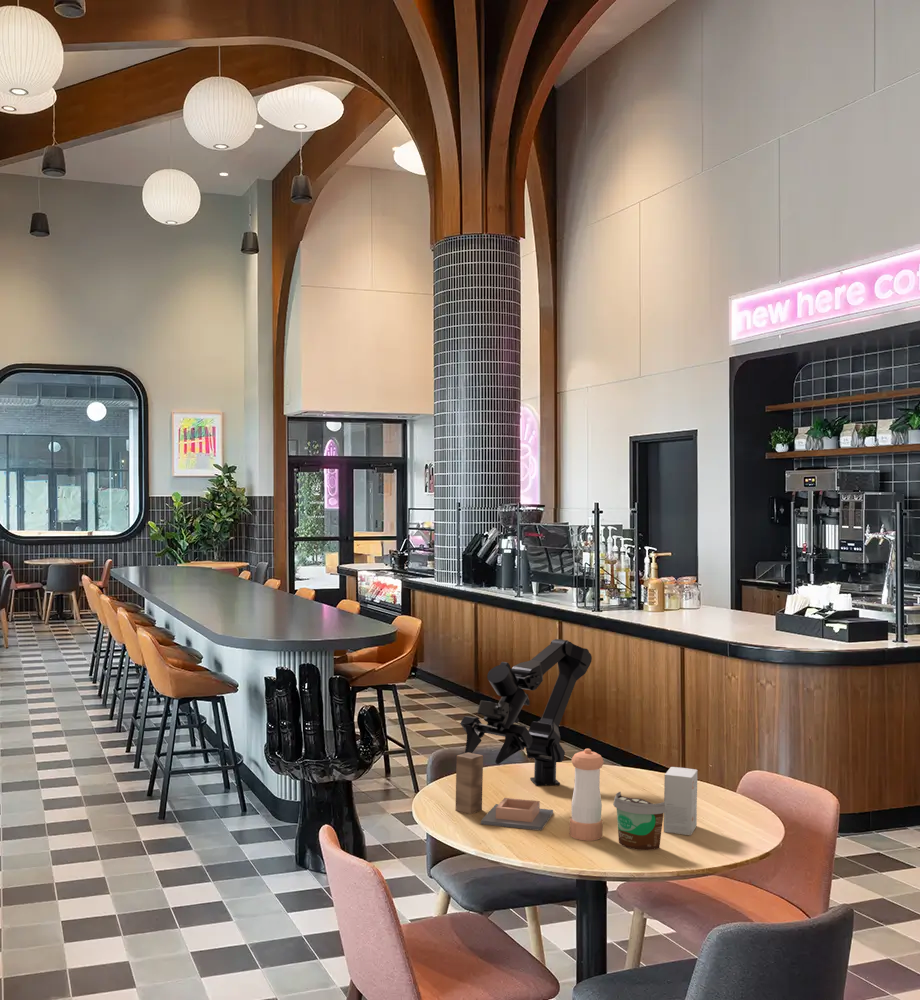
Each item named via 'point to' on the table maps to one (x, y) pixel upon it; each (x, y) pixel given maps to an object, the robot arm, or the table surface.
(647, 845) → the food container
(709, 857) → the table surface
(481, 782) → the walnut block
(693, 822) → the small box
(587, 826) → the salt shaker
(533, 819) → the jaw socket
